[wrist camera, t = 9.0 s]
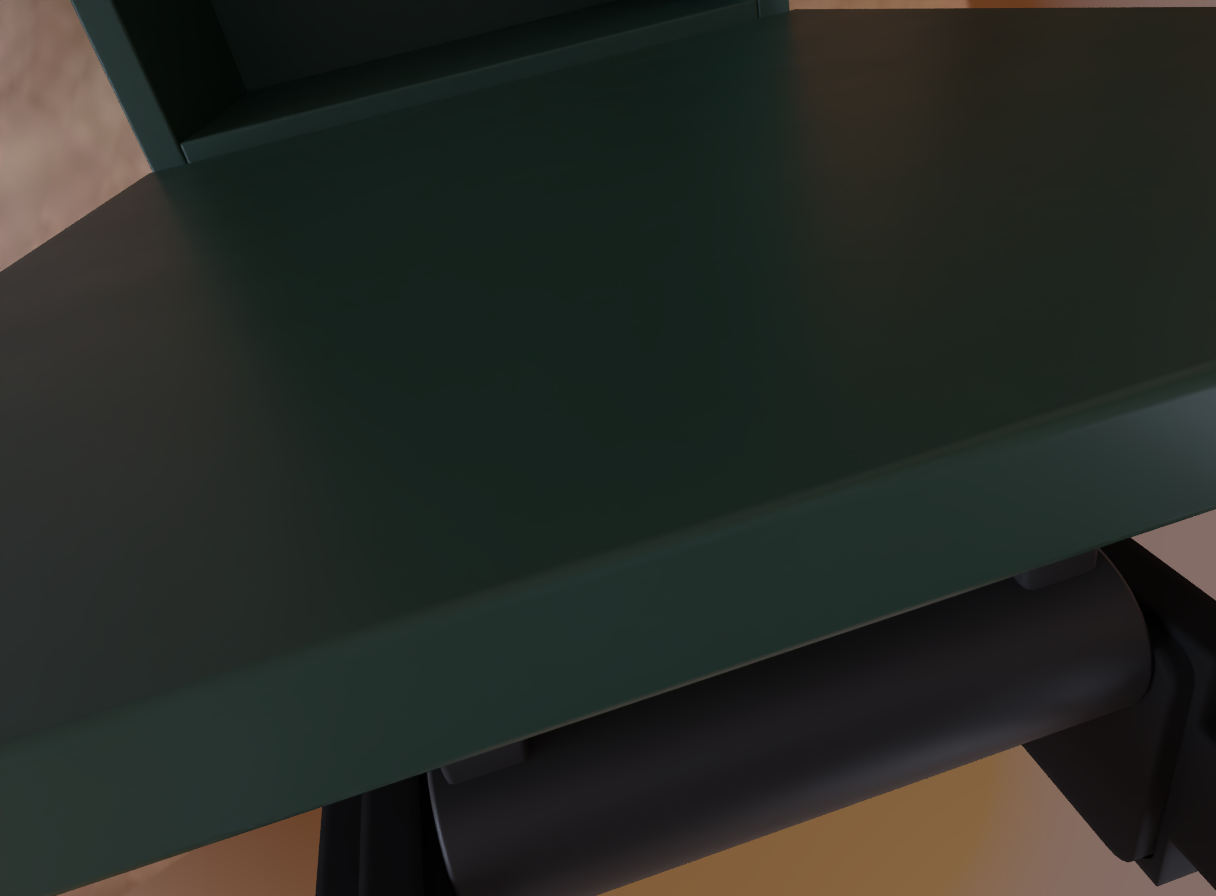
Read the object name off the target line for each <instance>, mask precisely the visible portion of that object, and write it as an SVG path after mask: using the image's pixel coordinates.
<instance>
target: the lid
mask: <svg viewBox="0 0 1216 896" xmlns="http://www.w3.org/2000/svg"><path fill="white" fill-rule="evenodd" d="M1214 509H1216V7H1146V8H1145V7H1133V8H953V9H795V10H791V11H787V12H783V13H779V14H776V15H772V16H768V17H764V18H760V19H756V20H752V21H748V22H744V23H740V24H736V25H732V26H728V27H724V28H720V29H716V30H713V31H709V32H705V33H701V34H697V35H693V36H689V37H685V38H681V39H677V40H673V41H669V42H665V43H661V44H657V45H653V46H649V47H646V48H642V49H638V50H634V51H630V52H626V53H622V54H618V55H614V56H610V57H606V58H602V59H598V60H594V61H590V62H586V63H583V64H579V65H575V66H571V67H567V68H563V69H559V70H555V71H551V72H547V73H543V74H539V75H535V76H531V77H527V78H523V79H520V80H516V81H512V82H508V83H504V84H500V85H496V86H492V87H488V88H484V89H480V90H476V91H472V92H468V93H464V94H460V95H456V96H453V97H449V98H445V99H441V100H437V101H433V102H429V103H425V104H421V105H417V106H413V107H409V108H405V109H401V110H397V111H393V112H390V113H386V114H382V115H378V116H374V117H370V118H366V119H362V120H358V121H354V122H350V123H346V124H342V125H338V126H334V127H330V128H327V129H323V130H319V131H315V132H311V133H307V134H303V135H299V136H295V137H291V138H287V139H283V140H279V141H275V142H271V143H267V144H264V145H260V146H256V147H252V148H248V149H244V150H240V151H236V152H232V153H228V154H224V155H220V156H216V157H212V158H208V159H204V160H200V161H197V162H193V163H189V164H185V165H181V166H177V167H173V168H169V169H165V170H161V171H157V172H153V173H149V174H148V175H146V176H145V177H143V178H142V179H140V180H139V181H137V182H136V183H134V184H133V185H131V186H130V187H128V188H127V189H125V190H124V191H122V192H121V193H119V194H118V195H116V196H114V197H113V198H111V199H110V200H108V201H107V202H105V203H104V204H102V205H101V206H99V207H98V208H96V209H95V210H93V211H92V212H90V213H89V214H87V215H86V216H84V217H83V218H81V219H80V220H78V221H77V222H75V223H74V224H72V225H71V226H69V227H68V228H66V229H65V230H63V231H62V232H60V233H59V234H57V235H56V236H54V237H53V238H51V239H50V240H48V241H47V242H45V243H44V244H42V245H41V246H39V247H38V248H36V249H35V250H33V251H32V252H30V253H28V254H27V255H25V256H24V257H22V258H21V259H19V260H18V261H16V262H15V263H13V264H12V265H10V266H9V267H7V268H6V269H4V270H3V271H1V272H0V896H56V895H59V894H62V893H65V892H68V891H71V890H74V889H77V888H80V887H83V886H86V885H89V884H92V883H95V882H98V881H101V880H104V879H107V878H110V877H113V876H116V875H119V874H122V873H125V872H128V871H131V870H134V869H137V868H140V867H143V866H146V865H149V864H152V863H155V862H158V861H161V860H164V859H167V858H170V857H173V856H176V855H179V854H182V853H185V852H188V851H191V850H194V849H197V848H200V847H203V846H206V845H209V844H212V843H215V842H218V841H221V840H224V839H227V838H230V837H233V836H236V835H239V834H242V833H245V832H248V831H251V830H254V829H257V828H260V827H263V826H266V825H269V824H272V823H275V822H278V821H281V820H284V819H287V818H290V817H293V816H296V815H299V814H302V813H305V812H308V811H311V810H314V809H317V808H320V807H323V806H326V805H329V804H332V803H335V802H338V801H341V800H344V799H347V798H350V797H353V796H356V795H359V794H362V793H365V792H368V791H371V790H374V789H377V788H380V787H383V786H386V785H389V784H392V783H395V782H398V781H401V780H404V779H407V778H410V777H413V776H416V775H419V774H422V773H425V772H427V777H428V785H429V792H430V799H431V805H432V810H433V815H434V820H435V825H436V830H437V834H438V839H439V843H440V847H441V850H442V854H443V858H444V861H445V865H446V868H447V871H448V875H449V878H450V881H451V884H452V887H453V889H454V892H455V894H456V896H596V895H599V894H602V893H605V892H608V891H610V890H613V889H616V888H619V887H622V886H625V885H627V884H630V883H633V882H636V881H638V880H642V879H644V878H647V877H650V876H653V875H656V874H658V873H661V872H664V871H667V870H670V869H672V868H675V867H678V866H681V865H684V864H687V863H689V862H692V861H695V860H698V859H701V858H703V857H706V856H709V855H712V854H715V853H717V852H720V851H723V850H726V849H729V848H732V847H734V846H737V845H740V844H743V843H746V842H749V841H751V840H754V839H757V838H760V837H762V836H765V835H768V834H771V833H774V832H777V831H779V830H782V829H785V828H788V827H791V826H793V825H796V824H799V823H802V822H805V821H808V820H810V819H813V818H816V817H819V816H822V815H825V814H827V813H830V812H833V811H836V810H838V809H841V808H844V807H847V806H850V805H853V804H855V803H858V802H861V801H864V800H867V799H869V798H872V797H875V796H878V795H881V794H884V793H887V792H889V791H892V790H895V789H898V788H901V787H903V786H906V785H909V784H912V783H915V782H918V781H920V780H923V779H926V778H929V777H932V776H934V775H937V774H940V773H943V772H946V771H948V770H951V769H954V768H957V767H960V766H963V765H965V764H968V763H971V762H974V761H977V760H979V759H982V758H985V757H988V756H991V755H994V754H996V753H999V752H1002V751H1005V750H1007V749H1011V748H1013V747H1016V746H1019V745H1022V744H1025V743H1027V742H1030V741H1033V740H1036V739H1039V738H1042V737H1044V736H1047V735H1050V734H1053V733H1056V732H1058V731H1061V730H1064V729H1067V728H1070V727H1072V726H1075V725H1078V724H1081V723H1084V722H1087V721H1089V720H1092V719H1095V718H1098V717H1101V716H1103V715H1106V714H1109V713H1112V712H1115V711H1118V710H1120V709H1123V708H1126V707H1129V706H1132V705H1133V704H1135V703H1136V702H1138V701H1139V700H1140V699H1141V697H1142V696H1143V695H1144V694H1145V693H1146V691H1147V689H1148V687H1149V685H1150V682H1151V678H1152V671H1153V653H1152V647H1151V641H1150V637H1149V633H1148V629H1147V626H1146V623H1145V620H1144V617H1143V614H1142V612H1141V610H1140V608H1139V605H1138V603H1137V601H1136V599H1135V597H1134V595H1133V593H1132V591H1131V589H1130V588H1129V586H1128V584H1127V583H1126V581H1125V580H1124V578H1123V577H1122V575H1121V574H1120V572H1119V571H1118V570H1117V568H1116V567H1115V565H1114V564H1113V563H1112V562H1111V561H1110V559H1109V558H1108V557H1107V556H1106V555H1105V553H1104V552H1103V551H1102V550H1101V549H1100V547H1103V546H1106V545H1109V544H1112V543H1115V542H1118V541H1121V540H1124V539H1127V538H1130V537H1133V536H1136V535H1139V534H1142V533H1145V532H1148V531H1151V530H1154V529H1157V528H1160V527H1163V526H1166V525H1169V524H1172V523H1175V522H1178V521H1181V520H1184V519H1187V518H1190V517H1193V516H1196V515H1199V514H1202V513H1205V512H1208V511H1211V510H1214Z"/></svg>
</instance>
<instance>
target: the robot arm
mask: <svg viewBox="0 0 1216 896" xmlns="http://www.w3.org/2000/svg"><path fill="white" fill-rule="evenodd" d="M1100 549H1101V550H1102V551H1103V552H1104V553H1105V555H1106V556H1107V557H1108V558H1109V559H1110V561H1111V562H1112V563H1113V564H1114V565H1115V567H1116V568H1117V570H1118V571H1119V572H1120V574H1121V575H1122V577H1123V578H1124V580H1125V581H1126V583H1127V584H1128V586H1129V588H1130V589H1131V591H1132V593H1133V595H1134V597H1135V599H1136V601H1137V603H1138V605H1139V608H1140V610H1141V612H1142V614H1143V617H1144V620H1145V623H1146V626H1147V629H1148V633H1149V637H1150V641H1151V647H1152V653H1153V671H1152V678H1151V682H1150V685H1149V687H1148V689H1147V691H1146V693H1145V694H1144V695H1143V696H1142V697H1141V699H1140V700H1139V701H1138V702H1136V703H1135V704H1133V705H1132V706H1129V707H1126V708H1123V709H1120V710H1118V711H1115V712H1112V713H1109V714H1106V715H1103V716H1101V717H1098V718H1095V719H1092V720H1089V721H1087V722H1084V723H1081V724H1078V725H1075V726H1072V727H1070V728H1067V729H1064V730H1061V731H1058V732H1056V733H1053V734H1050V735H1047V736H1044V737H1042V738H1039V739H1036V740H1033V741H1030V742H1027V743H1025V744H1022V746H1023V747H1024V748H1025V749H1026V751H1027V752H1028V753H1029V754H1030V755H1031V756H1032V758H1033V759H1034V760H1035V761H1036V762H1037V764H1038V765H1039V766H1040V767H1041V768H1042V769H1043V771H1044V772H1045V773H1046V774H1047V775H1048V777H1049V778H1050V779H1051V780H1052V782H1053V783H1054V784H1055V785H1056V786H1057V787H1058V789H1059V790H1060V791H1061V792H1062V793H1063V795H1064V796H1065V797H1066V798H1067V799H1068V801H1069V802H1070V803H1071V804H1072V805H1073V806H1074V808H1075V809H1076V810H1077V811H1078V812H1079V814H1080V815H1081V816H1082V817H1083V819H1084V820H1085V821H1086V822H1087V823H1088V824H1089V825H1090V827H1091V828H1092V829H1093V830H1094V831H1095V833H1096V834H1097V835H1098V836H1099V838H1100V839H1101V840H1102V841H1103V842H1104V843H1105V845H1106V846H1107V847H1108V848H1109V849H1110V850H1111V851H1112V852H1113V853H1114V855H1116V856H1117V857H1118V858H1120V859H1121V860H1123V861H1125V862H1131V861H1135V862H1136V863H1137V864H1138V865H1139V866H1140V868H1141V869H1142V870H1143V871H1144V872H1145V873H1146V875H1147V876H1148V877H1149V878H1150V879H1151V880H1152V882H1153V883H1154V884H1155V885H1156V886H1160V885H1162V884H1165V883H1168V882H1170V881H1173V880H1175V879H1178V878H1181V877H1183V876H1186V875H1188V874H1191V873H1194V872H1197V871H1199V872H1200V874H1201V875H1202V876H1203V877H1204V878H1205V879H1206V880H1207V881H1208V882H1209V883H1210V884H1211V886H1212V887H1213V888H1214V889H1215V890H1216V601H1215V600H1214V599H1213V598H1211V597H1210V596H1209V595H1207V594H1206V593H1204V592H1203V591H1202V590H1201V589H1199V588H1198V587H1196V586H1195V585H1194V584H1193V583H1191V582H1190V581H1189V580H1187V579H1186V578H1184V577H1183V576H1182V575H1180V574H1179V573H1178V572H1176V571H1175V570H1174V569H1172V568H1171V567H1169V566H1168V565H1167V564H1166V563H1164V562H1163V561H1161V560H1160V559H1159V558H1157V557H1156V556H1155V555H1153V554H1152V553H1150V552H1149V551H1148V550H1147V549H1145V548H1144V547H1143V546H1141V545H1140V544H1139V543H1137V542H1136V541H1134V540H1133V539H1132V538H1127V539H1124V540H1121V541H1118V542H1115V543H1112V544H1109V545H1106V546H1103V547H1100ZM315 896H456V894H455V892H454V889H453V887H452V884H451V881H450V878H449V875H448V871H447V868H446V865H445V861H444V858H443V854H442V850H441V847H440V843H439V839H438V834H437V830H436V825H435V820H434V815H433V810H432V805H431V799H430V792H429V785H428V777H427V772H425V773H422V774H419V775H416V776H413V777H410V778H407V779H404V780H401V781H398V782H395V783H392V784H389V785H386V786H383V787H380V788H377V789H374V790H371V791H368V792H365V793H362V794H359V795H356V796H353V797H350V798H347V799H344V800H341V801H338V802H335V803H332V804H329V805H326V806H323V807H322V819H321V830H320V843H319V857H318V869H317V882H316V895H315Z"/></svg>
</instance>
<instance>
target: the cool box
mask: <svg viewBox="0 0 1216 896" xmlns="http://www.w3.org/2000/svg"><path fill="white" fill-rule="evenodd" d="M70 1H71V3H72V5H73V7H74V9H75V11H76V13H77V15H78V17H79V19H80V21H81V23H82V26H83V28H84V30H85V32H86V34H87V36H88V38H89V40H90V42H91V44H92V46H93V48H94V50H95V53H96V55H97V57H98V59H99V61H100V63H101V65H102V67H103V69H104V71H105V73H106V75H107V78H108V80H109V82H110V84H111V86H112V88H113V90H114V92H115V94H116V96H117V98H118V100H119V103H120V105H121V107H122V109H123V111H124V113H125V115H126V117H127V119H128V121H129V123H130V125H131V127H132V130H133V132H134V134H135V136H136V138H137V140H138V142H139V144H140V146H141V148H142V150H143V152H144V155H145V157H146V159H147V161H148V163H149V165H150V167H151V169H152V171H153V172H157V171H161V170H165V169H169V168H173V167H177V166H181V165H185V164H189V163H193V162H197V161H200V160H204V159H208V158H212V157H216V156H220V155H224V154H228V153H232V152H236V151H240V150H244V149H248V148H252V147H256V146H260V145H264V144H267V143H271V142H275V141H279V140H283V139H287V138H291V137H295V136H299V135H303V134H307V133H311V132H315V131H319V130H323V129H327V128H330V127H334V126H338V125H342V124H346V123H350V122H354V121H358V120H362V119H366V118H370V117H374V116H378V115H382V114H386V113H390V112H393V111H397V110H401V109H405V108H409V107H413V106H417V105H421V104H425V103H429V102H433V101H437V100H441V99H445V98H449V97H453V96H456V95H460V94H464V93H468V92H472V91H476V90H480V89H484V88H488V87H492V86H496V85H500V84H504V83H508V82H512V81H516V80H520V79H523V78H527V77H531V76H535V75H539V74H543V73H547V72H551V71H555V70H559V69H563V68H567V67H571V66H575V65H579V64H583V63H586V62H590V61H594V60H598V59H602V58H606V57H610V56H614V55H618V54H622V53H626V52H630V51H634V50H638V49H642V48H646V47H649V46H653V45H657V44H661V43H665V42H669V41H673V40H677V39H681V38H685V37H689V36H693V35H697V34H701V33H705V32H709V31H713V30H716V29H720V28H724V27H728V26H732V25H736V24H740V23H744V22H748V21H752V20H756V19H760V18H764V17H768V16H772V15H776V14H779V13H783V12H787V11H789V0H70Z"/></svg>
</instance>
